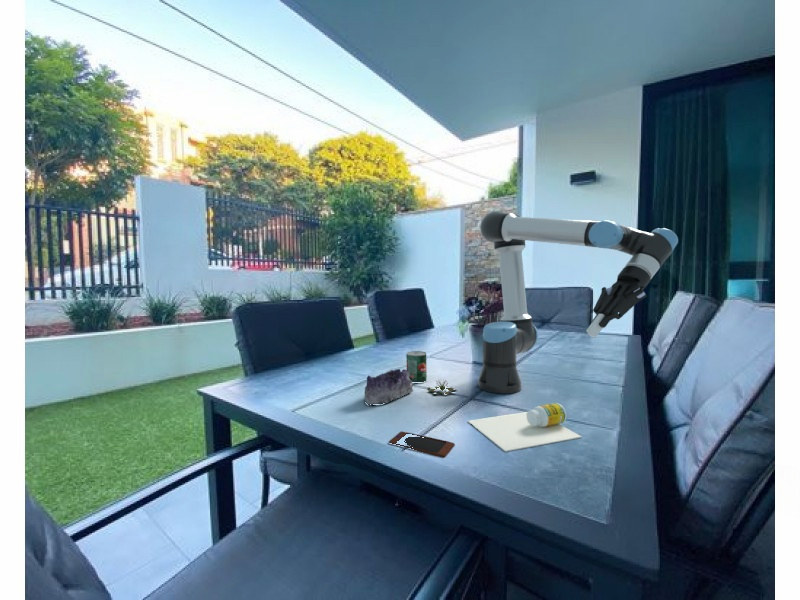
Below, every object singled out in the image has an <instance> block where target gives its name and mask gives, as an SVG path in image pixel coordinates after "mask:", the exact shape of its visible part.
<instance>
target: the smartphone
mask: <svg viewBox="0 0 800 600" xmlns="http://www.w3.org/2000/svg"><path fill="white" fill-rule="evenodd" d="M406 434H412V435H417V436H420V437H408V438H406V439H405V441H406V442H405V441H404V442H405V443H407V445H409V446H410V445H411V446H410V447H408V446H404V445H400V444H396V443H397V441H399V440H400V439H401V438H402V437H404V436H405V435H406ZM422 437H424V438H422ZM388 442H389V443H392V444H396V445H400V446H404V447H407V448H411V449H414V450H417V451H416V452H418V451H419V453H422V452H423V453H422V454H426V453H427V455H431V456H434V457H438V458H442V459H444V458H445V459H446V457H447V456H448V455H449V453H450V452H451V451H452V449H453V448H454V447H455V446H456V443H455V442H452V441H448V440H443V439H438V438H436V437H435V438H434V437H432V436H431V437H430V436H426V435H421V434H417V433H412V432H407V431H399V432H398V433H397V434H396V435H394V437H392V438H391V439H390V440H388ZM412 447H413V448H412ZM414 450H413V451H414Z"/></svg>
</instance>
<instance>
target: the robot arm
mask: <svg viewBox="0 0 800 600" xmlns="http://www.w3.org/2000/svg"><path fill="white" fill-rule="evenodd" d="M480 232H481V233H480V234H481V236H482V237H483V238H484V239H485V240H486V241H487V242H490V243H493V247H494V252H495V253H497V254H498V259H499V269H500V279H501V282H500V283H501V290H502V291H501V293H502V303H503V316H501V318H500V321H494V322H493V321H492V322H490V323H486V324H485V325H484V327H483V330H482V331H483V332H482V368H481V369H480V370H481V371H480V373H479V376H478V379H477V380H478V381H477V384H478V385H477V386H479V387H478V388H479V389H481V390H483V391H484V392H488V393H495V394H504V395H505V394H514V393H518V392H520V391H521V390H522V381H521V380H522V379H521V378H520V374H519V371H518V369H517V355H519V354H521V353H527V352H529V351H530V350H532V349H533V348H534V347H535V346H536V345H537V344H538V341H539V331H538V328H537V326H535V325H534V324H533V317H532V316H531V315H530V314H529V313H528V308H527V307H528V306H527V305H528V304H527V295H526V283H525V271H524V262H523V261H524V260H523V251H524V250H525V248H526V241H530V242H540V243H550V244H559V245H561V244H562V245H569V246H570V245H571V246H579V247H580V246H582V247H590V248H599V249H607V250H608V249H609V250H615V251H618V252H621V253H624V254H627V255H630V256H631V258H630V259H629V260H628V262H627V263H626V264H625V265H624V267H623V268H622V269H621V271H620V272H619V274H617V279H616V282H614V283H613V284H612V285H611V286H609V287H606V286H603V287H602V288H601V293H600V295H599V298H598V299H597V300H596V302H595V303H596V304H595V305H594V307H593V310H592V311H593V312H594V313H595V317H594V318H593V319H592V320H591V322H590V323H591V324H589V326H588V327H587V329H586V330H585V331H586V333H587V334H588V335H589V336H590V338H597V336H598V335H599V334H600V332H601V331H602V330H603V329H604V328H607V325H608V324H609V323H610V322H611V321H612V320H620V319H621V318H622V317H624V315H625V314H627V313H628V312H629V311H630V310H631V309H632V308H633V307H634V306H635V305H636V304H637V303H639V302H640V301H642V300H644V299H645V298H647V294H646V293H645V291H644V289H645V288H646V287H647V286H648V284H649V283H650V282H651V280H652V279H653V277H654V276H655V274H656V273H657V272H658V271H659V269H660V268H661V266H663V264H664V263H665V262H666V260H667V259H668V258H669V257H670V256H671V254H672V253H673V251H674V249H675V248H676V247H677V245H678V244H679V238H678V236H677V234H676V233H675V232H674V231H673V230H671V229H668V228H665V227H663V228H659V227H658V228H655V229H653V230H652V231H651V232H647V231H643V230H639V229H636V228H633V227H631V226H626V225H624V224H621V223H617V222H616V221H613V220H608V219H607V220H600V221H599V220H583V219H582V220H581V219H563V218H544V217H530V216H529V217H527V216H526V217H524V216H520V215H518V214H515V213H510V212H509V213H508V212H504V211H498V210H496V211H491V212H490V213H488V214H486V215H485V216H484V217H483V219H482V220H481V222H480Z"/></svg>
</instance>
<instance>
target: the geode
mask: <svg viewBox="0 0 800 600" xmlns="http://www.w3.org/2000/svg"><path fill="white" fill-rule="evenodd" d="M409 374H410V373H409V372H408V371H407V369H402V370H401V369H400V368H398V369H397V368H396V369H394V370H392V369H390V370H389V371H387V372H385V373H381V374H380V375H376V376H375V377H372V376H370V375H368V376H367V377H366V386H365V387H364V396H363V397H364V398H363V401H365V402H366V403H367V404H368V405H370V404H371V405H373V404H383V403H387V404H389V403H391V402H393V401H395V399H396V400H398V399H397V398H399V397H400V398H401V397H402V396H403V397H405V396H407V395H409V394H411V393H412V392H414V390H413V388H414V385H413V383H412V381H411V380H410V379H409ZM408 393H409V394H408ZM406 394H407V395H406ZM404 395H405V396H404ZM403 397H402V398H403ZM400 398H399V399H400ZM392 400H393V401H392ZM390 401H391V402H390ZM365 402H364V403H365ZM388 402H389V403H388Z"/></svg>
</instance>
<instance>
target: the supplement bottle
mask: <svg viewBox="0 0 800 600" xmlns="http://www.w3.org/2000/svg"><path fill="white" fill-rule="evenodd" d="M526 412H527V420H528V422H529V424H530V425H531V426H540V427H546V426H551V425H555V424H560V425H561V424H564V422H565V421H567V412H566V409H565V407H564V406H563V405H562V404H560V403H557V402H554V403H549V404H544V405H538V406H535V407H534V408H533V409H530V410H528V411H526Z"/></svg>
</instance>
